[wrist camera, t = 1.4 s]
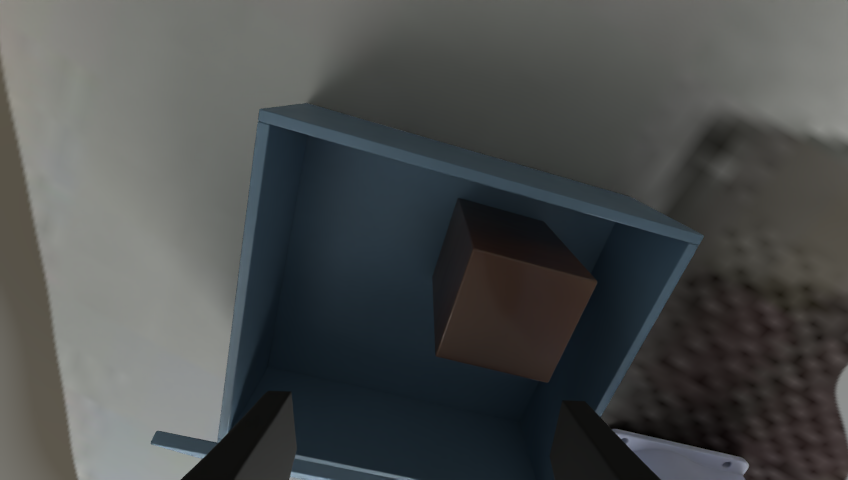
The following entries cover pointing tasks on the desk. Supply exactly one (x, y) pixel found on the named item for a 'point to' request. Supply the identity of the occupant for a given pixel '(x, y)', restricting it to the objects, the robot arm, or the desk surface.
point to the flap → (314, 474)
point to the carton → (419, 299)
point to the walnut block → (506, 292)
